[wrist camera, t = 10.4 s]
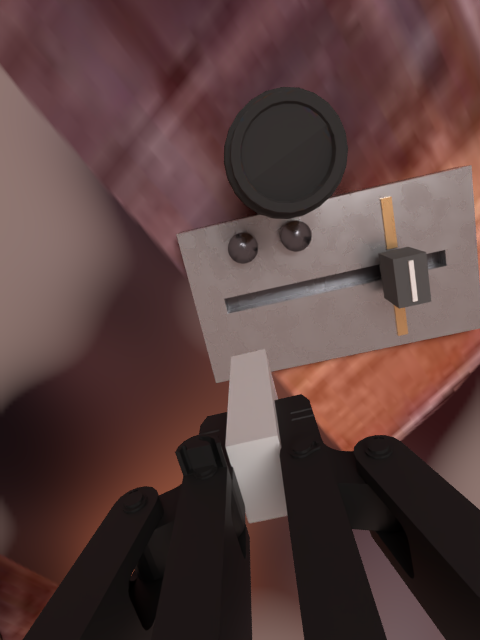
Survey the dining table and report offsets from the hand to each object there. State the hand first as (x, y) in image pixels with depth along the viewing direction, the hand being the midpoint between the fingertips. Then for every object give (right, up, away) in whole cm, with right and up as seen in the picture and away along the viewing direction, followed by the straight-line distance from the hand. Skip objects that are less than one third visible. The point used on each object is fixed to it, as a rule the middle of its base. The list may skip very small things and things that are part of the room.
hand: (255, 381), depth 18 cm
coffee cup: (+2, +18, +23) cm, 29 cm away
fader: (+14, +8, +24) cm, 29 cm away
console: (+9, +7, +26) cm, 28 cm away
